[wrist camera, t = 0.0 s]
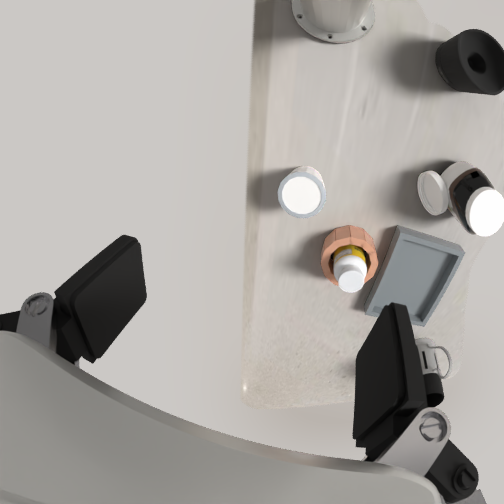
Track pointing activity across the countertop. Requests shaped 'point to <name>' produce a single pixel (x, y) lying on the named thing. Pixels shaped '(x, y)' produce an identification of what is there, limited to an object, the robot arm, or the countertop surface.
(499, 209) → the spread jar
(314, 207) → the white tapered cup
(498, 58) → the pen holder
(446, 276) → the tray
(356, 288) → the supplement bottle
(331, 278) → the terracotta faceted ring
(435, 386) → the glass holder
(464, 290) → the countertop surface
